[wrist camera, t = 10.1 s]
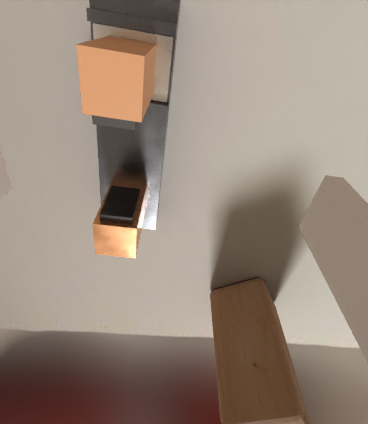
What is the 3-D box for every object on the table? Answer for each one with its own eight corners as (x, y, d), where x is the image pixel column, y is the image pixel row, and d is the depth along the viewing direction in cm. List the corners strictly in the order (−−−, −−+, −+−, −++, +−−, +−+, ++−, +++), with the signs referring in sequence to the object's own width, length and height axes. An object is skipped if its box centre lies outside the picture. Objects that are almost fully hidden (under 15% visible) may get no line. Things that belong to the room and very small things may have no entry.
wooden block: (261, 274, 45) (303, 417, 29) (275, 304, 50) (316, 439, 34) (207, 289, 47) (218, 428, 31) (226, 316, 53) (243, 446, 37)
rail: (180, 2, 23) (176, -5, 14) (157, 215, 37) (148, 278, 28) (99, -13, 22) (41, -31, 13) (107, 210, 36) (82, 271, 28)
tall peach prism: (156, 44, 22) (144, 56, 16) (152, 102, 25) (140, 133, 18) (108, 35, 22) (76, 44, 15) (110, 96, 24) (83, 125, 18)
